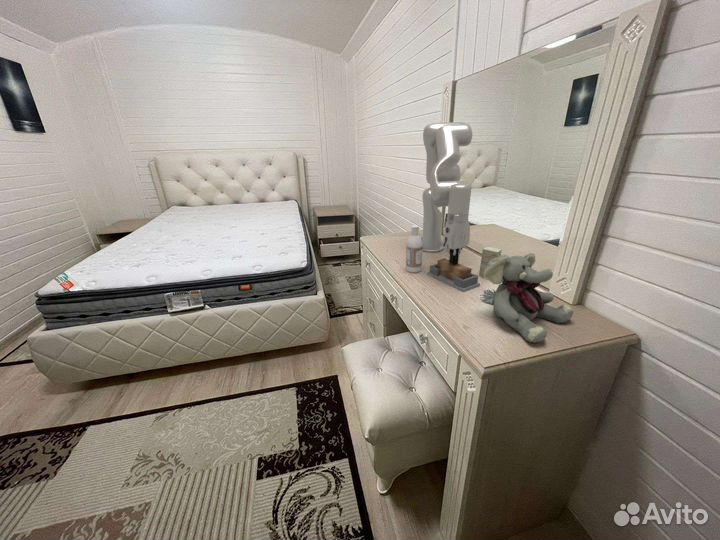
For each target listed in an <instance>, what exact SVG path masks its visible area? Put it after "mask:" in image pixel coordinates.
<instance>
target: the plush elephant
mask: <svg viewBox="0 0 720 540" xmlns="http://www.w3.org/2000/svg"><path fill="white" fill-rule="evenodd" d="M535 263H536V255H535V253H527V254H525V255H524V256H522V255H512V256H509V255H507V254H506V255H505V254H501V256H499V257H497V258H495V259H492V260H491V261H490V262H489V263H488V264H487V266H486V268H485V271H484V276H485V278H484V279H485V280H487V281H489V282H490V283H491V284H492V285H498V286H497V288H496V289H493V288H492V291H491V290H490V289H486V290H483V293H482V294H480V295H479V296H480V298H479V299H481V302H482V303H486V304H489V305H493V312H494V314H495V315H496V316H497V317H498V318H500V319H501V320H504V322H505V323H506V324H507V325H508V326H510V327H511V328H512V329H514V330H516V332H518V333H519V334H520V335H521V336H522V337H523V339H524V338H525V341H526V340H527V341H526V342H528V341H529V342H528V343H530V342H533V343H534V344H535V343H536V344H537V343H539V342H543V340H545V339H546V338H547V333H548V332H547V330H546V328H545V327H544V326H542V325H539V324H535V323H534V322H533V321H532V320H533V319H534V318H541V319H544V320H547V321H551V322H553V323H556V324H560V323H561V324H565V323H566V322H568V321H569V320H571V318H572V317H573V314H574V311H573V309H572V308H571V307H570V306H569V305H567V304H562V305H560V306H558V307H553V306H552V305H549V304H550V303H551V302H553V301H554V299H555V298H554V297H555V295H554V294H552V293H549V292H545V291H540V290H536V289H537V287H539V286H540V285H541V283H545V282H549V280H551V279H552V278H553V275H554V273H553V272H554V271H552V270H551V268H546V269H542V270H541V271H537V270H536V269H534V268H532V267H533V265H535ZM533 343H532V344H533Z"/></svg>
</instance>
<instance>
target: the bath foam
mask: <svg viewBox="0 0 720 540" xmlns="http://www.w3.org/2000/svg"><path fill="white" fill-rule="evenodd" d="M419 228H420V227H419V225H411V235H410V236H409V238H408V239H407V241H406V246H405V247H406V251H405V252H406V255H405V269H406V271H407V272H408V273H420V272H421V271H422V269H423V252H424V251H423V243H422V240H421V236H420V234H419V230H420V229H419Z"/></svg>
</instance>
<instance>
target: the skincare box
mask: <svg viewBox="0 0 720 540" xmlns="http://www.w3.org/2000/svg"><path fill="white" fill-rule="evenodd" d="M502 251H503V250H502V249H501V248H497V247H491V246H487V245H486V246H485V247H484V248H483V249H482V253H481V258H480V265H479V272H478V277H479V278H480V277H481V278H483V279H486V278H485V276H484V271H485V268H486V266H487V264H488V263H489V262H490V261H491V260H492V259H495V258H497V257H499V256H502Z"/></svg>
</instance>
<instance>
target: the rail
mask: <svg viewBox="0 0 720 540" xmlns="http://www.w3.org/2000/svg"><path fill="white" fill-rule="evenodd" d="M439 271H440V269H439V268H437V263H435V264H431V265H429V271H427V272H426V275H428V276H430V277H432V278H433V279H436V280H438V281H440V282H442V283H445V284H446V285H449V286H451V287H453V288H454V289H456V290H459V291H460V292H463V293H464V292H467V291H469V290H473V289H475V288H478V287H480V286H481V283H480V282H479V281H478V280H479V275H477V274H474V273H472V272H471V277H469V278H466V279H461V278H459V277H457V276H456V277H454V281H452V280H450V279H448V278H446V277H443V276H441V275H439Z"/></svg>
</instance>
